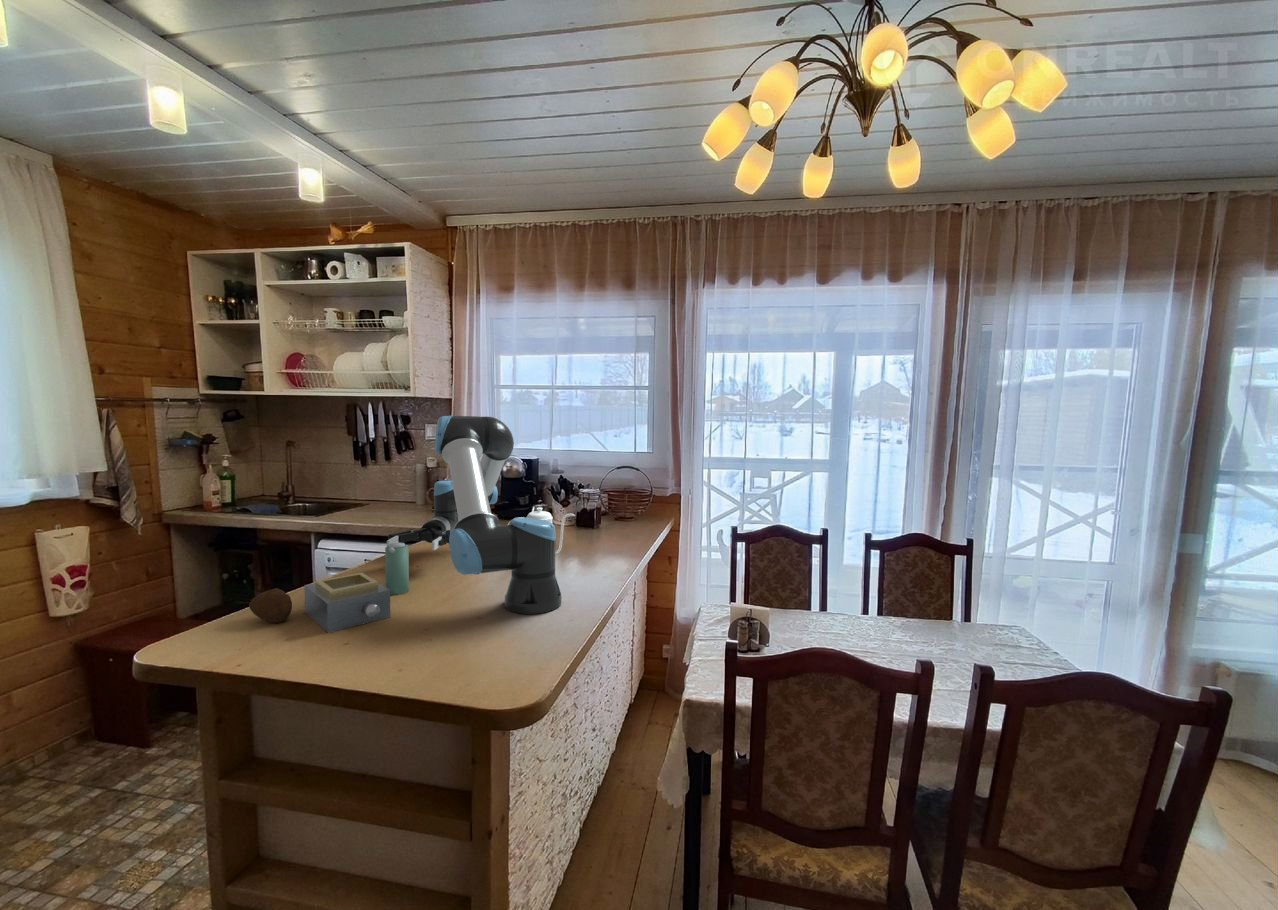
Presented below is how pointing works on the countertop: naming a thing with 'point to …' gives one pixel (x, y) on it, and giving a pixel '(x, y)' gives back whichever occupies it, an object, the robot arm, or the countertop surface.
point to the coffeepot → (547, 517)
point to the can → (397, 568)
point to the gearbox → (346, 601)
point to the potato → (272, 605)
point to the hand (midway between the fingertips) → (410, 545)
